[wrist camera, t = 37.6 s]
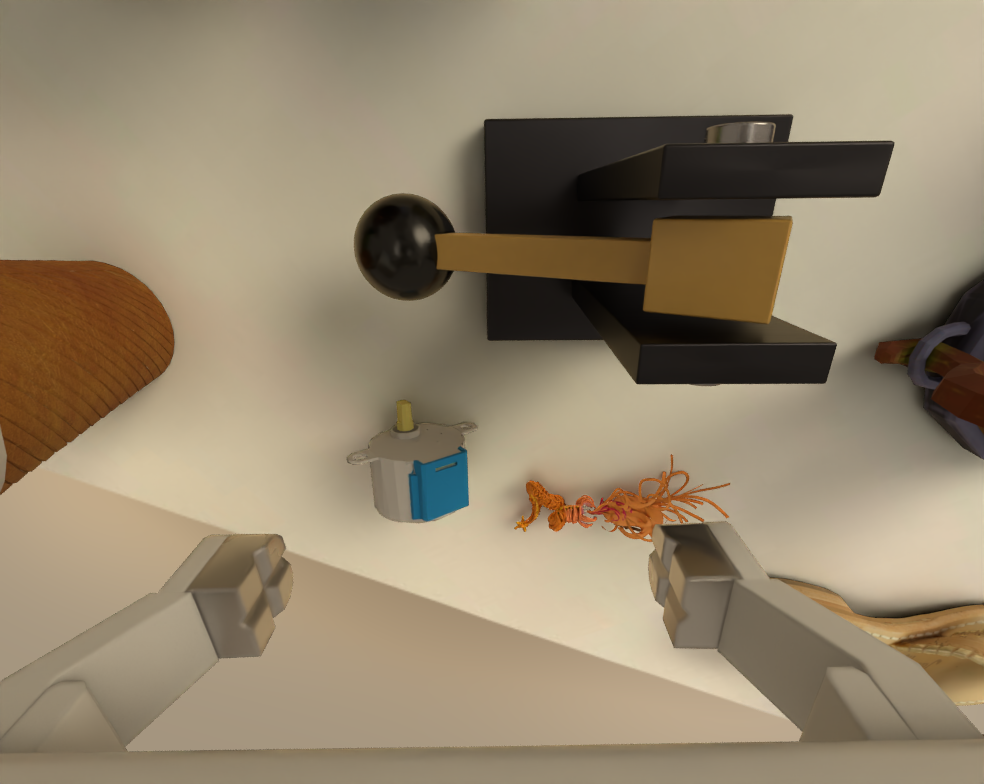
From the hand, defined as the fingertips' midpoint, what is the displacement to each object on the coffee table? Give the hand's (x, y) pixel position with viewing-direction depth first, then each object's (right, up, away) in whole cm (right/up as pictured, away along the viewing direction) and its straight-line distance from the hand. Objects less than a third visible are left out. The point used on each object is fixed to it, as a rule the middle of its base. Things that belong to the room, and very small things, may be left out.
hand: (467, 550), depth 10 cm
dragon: (+7, -2, +16) cm, 18 cm away
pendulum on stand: (+6, +11, +10) cm, 16 cm away
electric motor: (-1, 0, +10) cm, 10 cm away
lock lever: (+3, +8, +5) cm, 10 cm away
